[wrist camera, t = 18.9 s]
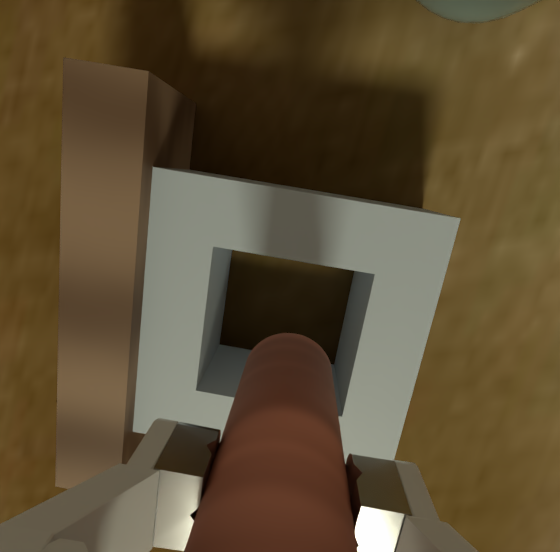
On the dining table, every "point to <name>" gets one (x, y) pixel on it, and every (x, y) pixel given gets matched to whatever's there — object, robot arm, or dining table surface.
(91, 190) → the walnut wall
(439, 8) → the cup
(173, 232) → the holed block
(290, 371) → the sausage
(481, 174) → the dining table surface
